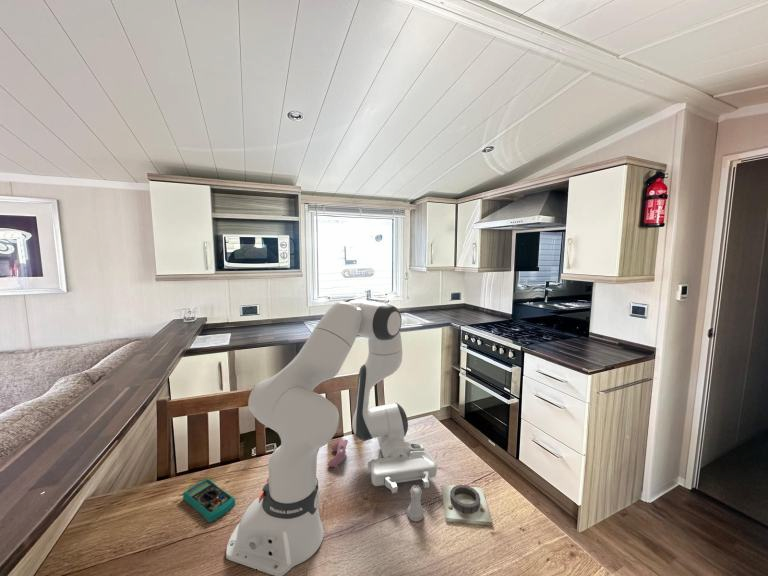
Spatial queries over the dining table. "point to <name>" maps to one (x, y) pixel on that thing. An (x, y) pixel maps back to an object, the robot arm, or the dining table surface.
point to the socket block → (465, 505)
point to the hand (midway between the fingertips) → (411, 488)
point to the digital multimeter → (209, 500)
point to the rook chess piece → (415, 504)
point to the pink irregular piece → (338, 453)
